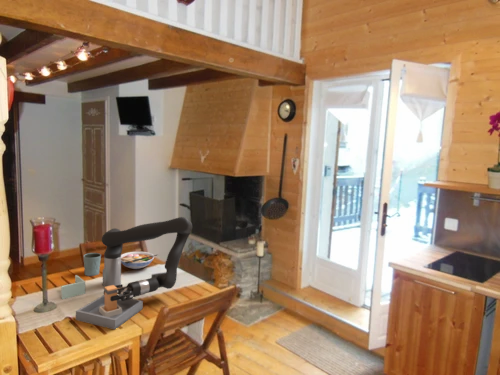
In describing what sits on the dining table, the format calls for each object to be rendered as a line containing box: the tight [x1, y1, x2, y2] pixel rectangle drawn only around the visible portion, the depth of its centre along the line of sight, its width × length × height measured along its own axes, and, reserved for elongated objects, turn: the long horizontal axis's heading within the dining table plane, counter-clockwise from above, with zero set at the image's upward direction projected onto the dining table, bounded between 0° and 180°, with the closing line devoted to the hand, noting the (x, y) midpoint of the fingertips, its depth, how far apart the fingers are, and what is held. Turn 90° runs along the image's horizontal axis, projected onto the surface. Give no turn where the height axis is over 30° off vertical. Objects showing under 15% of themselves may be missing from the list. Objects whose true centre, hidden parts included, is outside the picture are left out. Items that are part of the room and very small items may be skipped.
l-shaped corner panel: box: [60, 274, 86, 300], centre depth 202 cm, size 12×12×8 cm
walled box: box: [75, 294, 144, 330], centre depth 181 cm, size 22×22×4 cm
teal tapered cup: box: [83, 252, 102, 277], centre depth 230 cm, size 10×10×12 cm
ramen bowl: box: [121, 251, 158, 270], centre depth 245 cm, size 25×23×8 cm
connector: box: [103, 285, 118, 312], centre depth 180 cm, size 5×5×13 cm
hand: (107, 296), depth 179 cm, fingers open, 8 cm apart
